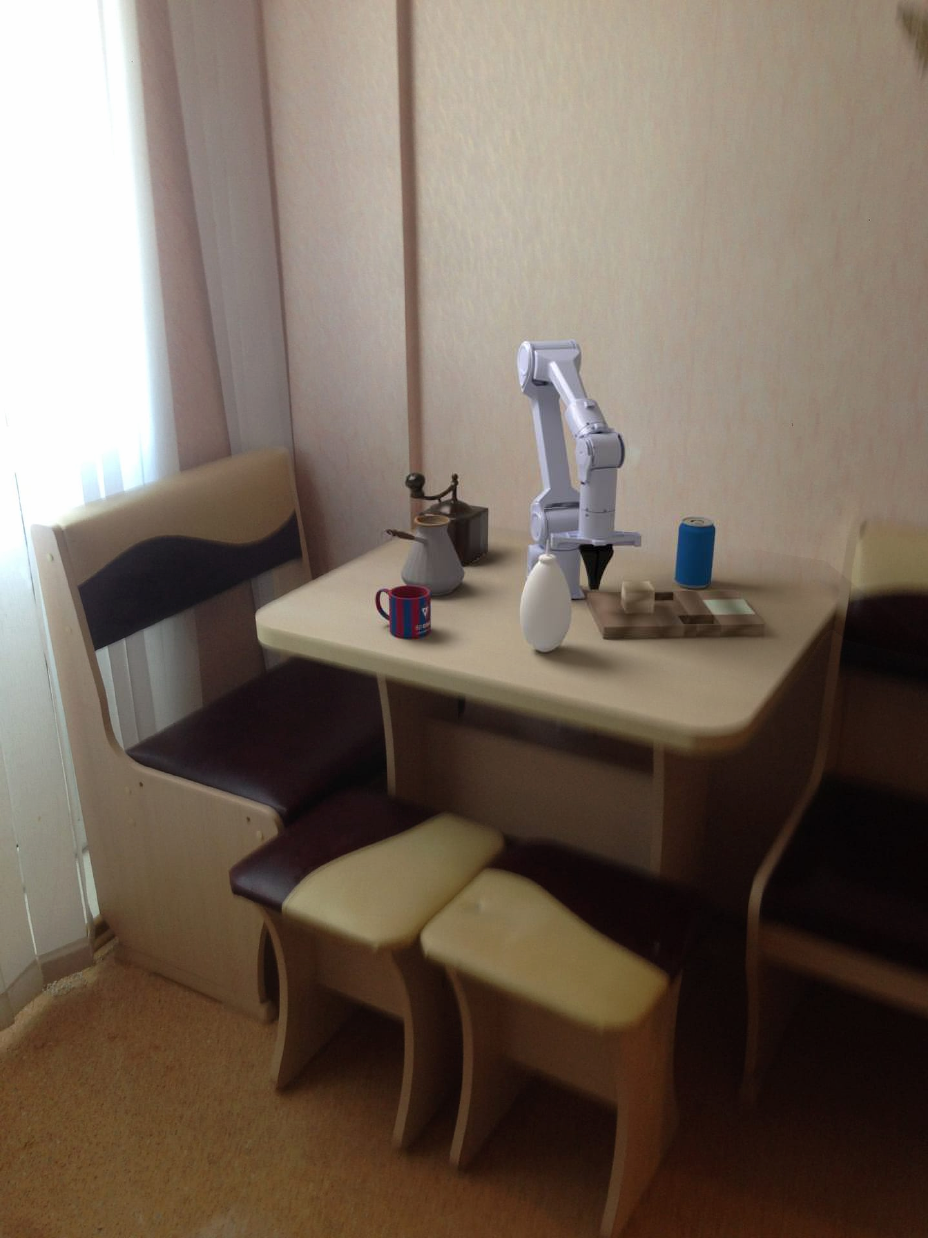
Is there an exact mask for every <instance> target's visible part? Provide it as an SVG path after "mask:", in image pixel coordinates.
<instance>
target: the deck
mask: <svg viewBox="0 0 928 1238" xmlns="http://www.w3.org/2000/svg"><path fill="white" fill-rule="evenodd" d="M621 594H622V591H620V592H619V591H616V592H608V591H607V592H587V593H586V606H587V607H588V609H589V612H590V614H591V616H592V618H593V620H594V622H595V624H596V626H597V628H598V630H599V632H600V635H601V637H602V639H603V640H604V639H605V640H607V639H656V638H657V639H658V638H700V637H701V638H704V637H706V638H707V637H745V636H746V637H749V636H750V637H752V636H753V637H754V636H756V637H757V636H764V630H765V623H764V622H763V620H761V618H759V616H758V615H757V614H756V613H755V612H754V610H753V609H752V608H751V607H750V606H749V605H748V604H747V602H746V601H745V600H744V599H743V597H742V596H741V595H740V594H739V593H738V592H737V590H735V589H734V590H731V589H727V590H726V589H725V590H724V589H723V590H683V591H682V590H677V591H671V590H670V591H669V590H668V591H655V596H654V610H653V613H631V614H626V612H625V610H624V609H623V607H622V605H621Z"/></svg>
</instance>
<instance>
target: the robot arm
mask: <svg viewBox="0 0 928 1238" xmlns="http://www.w3.org/2000/svg"><path fill="white" fill-rule="evenodd" d="M516 359H517V360H516V361H517V362H516V365H517V372H518V379H519V386H520V388H521V394H524V395H525V396H527V397H529V400H530V406H531V413H532V418H533V426H534V433H535V439H536V440H535V441H536V445H537V446H536V448H537V453H538V454H537V455H538V461H539V467H540V474H541V481H542V488H543V490H542V491H541V493H540V494H539V495H538V496H536V498H535V499H534V500H533V501H532V503H531V504H530V508H529V509H530V522H529V523H530V524H529V525H530V534H531V537H532V539H533V541H534V542H535V544H529V545H528V546H527V551H526V552H527V555H526V556H527V557H526V576H525V582H526V581H527V579H528V577H529V575H530V573H531V571H532V569H533V568H534V566H535V565H536V564H537V563H538V562H539V556H541V555H543V554H546V546H547V540H549V554H551V555H554V556H555V557H556V562H557V563H558V565H559V566H560V567H561V569H562V571H563V573H564V575H565V578H566V580H567V583H568V587H569V590H570V596H571V600H572V599H573V600H575V599H580V600H581V599H585V594H584V592H583V590H582V588H581V586H580V583H581V579H580V578H581V558H582V561H583V564H584V567H585V571H586V576H587V581H588V582H587V583H588V588H589V590H590V591H599V590H600V585H601V582H602V578H603V576H604V573H605V572H606V568H607V567H608V564H609V563H610V561H611V560H612V558H613V557H614V553H615V550H614V547H626V546H627V547H629V546H630V547H631V546H633V547H635V548H639V547H642V536H643V535H642V534H641V533H640V531H622V530H615V520H616V504H617V503H616V502H617V486H618V485H617V484H618V483H617V482H618V469H621V468H622V467H623V465H624V463H625V459H626V444H625V441H624V438H623V435H622V433H621V432H620V431H618V430H617V431H616V430H615V429H614V428H613V427H611V428H610V427H609V425H608V423H607V420H606V419H605V417H604V414H603V412H602V410H601V409H600V406H599V405H598V402H597V401H596V400H594V399H593V398H588V395H587V392H586V390H585V387H584V383H583V381H582V377H581V375H580V371H581V366H582V351H581V348H580V345H579V343H578V342H577V341H576V339H573V338H571V339H570V338H569V339H568V340H542V341H541V340H540V341H537V340H536V341H529V340H525V341H523V342H522V343H521V344H520V347H519V349H518V353H517V358H516ZM560 398H561V400H562V401H563V403H564V404H565V406H566V411H565V413H564V419H565V422H566V424H567V426H568V428H569V431H570V433H571V436H572V437H573V440H574V442H575V445H576V446H575V450H574V451H575V461H576V466H577V479H578V480H580V487H579V488H580V489H579V490H580V491H578V490H577V489H575V487H573V486H572V480H571V474H570V468H569V467H570V466H569V460H568V453H567V447H566V440H565V433H564V426H563V419H562V418H563V417H562V412H561V405H560Z"/></svg>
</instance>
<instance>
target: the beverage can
mask: <svg viewBox="0 0 928 1238" xmlns="http://www.w3.org/2000/svg"><path fill="white" fill-rule="evenodd" d="M716 531H717V529H716V527H715V525H714V520H713V519H711V518H708V517H702V516H687V517H684V518H682V520H681V523H680V524H679V526H678V534H677V547H676V549H677V550H676V559H675V572H674V573H675V574H674V581H675V582H676V583H677V584H678V585H679V586H680V587H682V588H685V589H690V590H700V589H704V588H706V587H707V586H708V585H710V584H711V583H712V572H713V562H714V554H715V553H714V550H715V542H716Z"/></svg>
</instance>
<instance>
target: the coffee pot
mask: <svg viewBox="0 0 928 1238" xmlns="http://www.w3.org/2000/svg"><path fill="white" fill-rule="evenodd" d="M413 521H414V524H415V525H416V527H417V532H416V535H413V534H410V533H408V532H406V531H402V530H397V529H396V528H393V529H391V528H389V529H386V530H383V531H382V532H381V533H380V535H379V536H380V539H381V540H382V541H384V542H385V543H387V542H390V541H392V540H393V538H394V537H397V538H398V539H402V540H409V541H413V542H412V545H411V548H410V550H409V553H408V555H407V557H406V559H405V562H404V563H403V567H402V569H401V572H400V576H401V579H402V581H403V583H404V584H405V585H417V586H422V587H426V588H428V589H429V590H430V592H431V597H432V596H433V597H435V596H444V595H449V594H450V593H451V592H453V591H455V589H456V588H457V587H458V586H459V585H460V584H462V582H463V580H464V577H465V574H466V572H465V570H464V568H463V566H462V565H461V563H460V560H459V558H458V556H457V554H456V551H455V549H454V547H453V544H452V542H451V540H450V537H449V535H448V533H447V527H448V524H449V523H450V522H451V520H450V519H449V518H448V517H445V516H439V515H426V516H419V515H418V516H415V518H414V519H413ZM385 532H386V534H388V535H390V536H391V537H390V539H389V540H384V539H383V537H382V535H383V533H385Z"/></svg>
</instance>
